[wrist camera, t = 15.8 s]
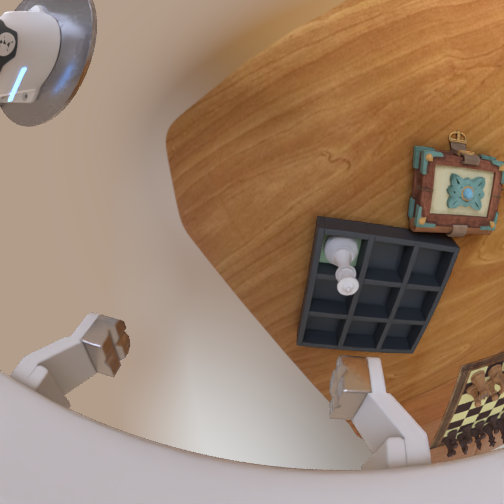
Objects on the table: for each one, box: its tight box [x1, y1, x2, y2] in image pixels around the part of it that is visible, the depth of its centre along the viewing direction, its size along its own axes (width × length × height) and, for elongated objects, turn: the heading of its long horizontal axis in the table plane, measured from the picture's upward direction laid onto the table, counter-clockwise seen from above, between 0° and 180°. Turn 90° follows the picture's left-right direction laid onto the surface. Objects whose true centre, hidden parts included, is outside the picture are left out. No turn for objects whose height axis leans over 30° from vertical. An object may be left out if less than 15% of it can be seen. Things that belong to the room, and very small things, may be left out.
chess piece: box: [324, 235, 359, 295], centre depth 35 cm, size 4×4×10 cm
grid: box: [297, 216, 460, 353], centre depth 40 cm, size 20×20×4 cm
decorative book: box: [408, 131, 504, 237], centre depth 30 cm, size 13×18×5 cm
